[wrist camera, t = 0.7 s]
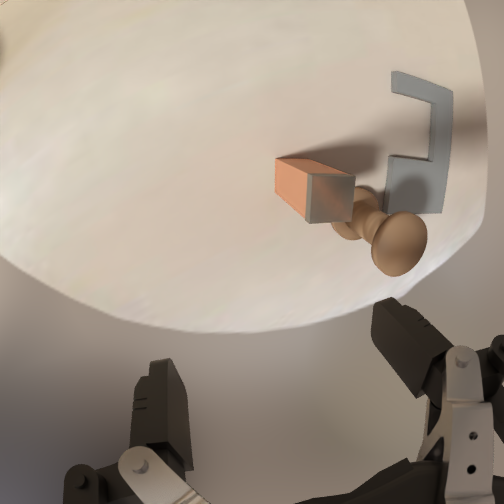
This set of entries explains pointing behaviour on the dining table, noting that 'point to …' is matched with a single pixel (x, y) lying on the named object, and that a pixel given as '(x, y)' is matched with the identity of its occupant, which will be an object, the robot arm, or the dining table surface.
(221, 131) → the dining table surface
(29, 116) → the dining table surface
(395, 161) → the notched board
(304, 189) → the orange tall block
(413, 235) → the bobbin
